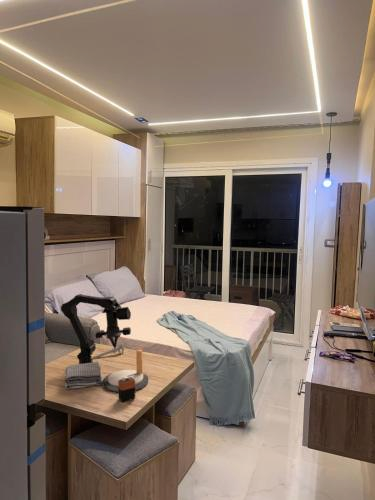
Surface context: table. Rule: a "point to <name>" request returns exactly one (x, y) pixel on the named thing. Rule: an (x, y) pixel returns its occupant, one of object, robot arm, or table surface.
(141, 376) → the dial
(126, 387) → the battery
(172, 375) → the table surface
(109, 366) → the table surface
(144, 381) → the dial plate
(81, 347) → the robot arm
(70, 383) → the towel
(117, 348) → the caliper
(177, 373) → the table surface
